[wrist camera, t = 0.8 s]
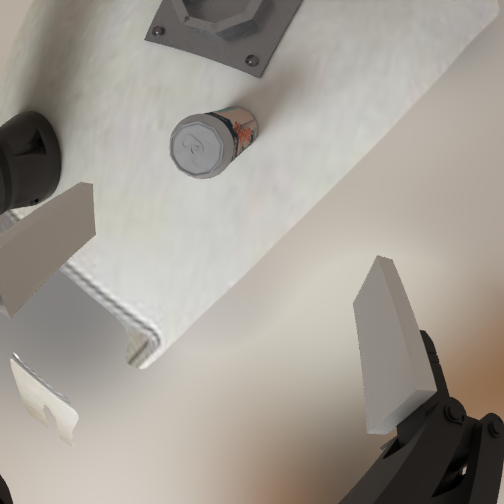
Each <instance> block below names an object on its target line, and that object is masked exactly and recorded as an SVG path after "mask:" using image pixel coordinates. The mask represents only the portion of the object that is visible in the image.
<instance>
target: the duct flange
mask: <svg viewBox="0 0 504 504" xmlns="http://www.w3.org/2000/svg"><path fill="white" fill-rule="evenodd" d="M301 2H302V0H163V1H162V3H161V5H160V7H159V9H158V11H157V13H156V15H155V17H154V19H153V21H152V23H151V26H150V28H149V30H148V32H147V35H146V37H145V39H144V40H146V41H150V42H154V43H158V44H162V45H166V46H170V47H173V48H177V49H180V50H183V51H187V52H190V53H193V54H196V55H199V56H202V57H205V58H208V59H211V60H214V61H217V62H220V63H223V64H225V65H228V66H231V67H233V68H236V69H238V70H241V71H243V72H246V73H248V74H251V75H253V76H256V77H258V78H261V76H262V74H263V72H264V70H265V68H266V66H267V64H268V62H269V60H270V58H271V56H272V54H273V52H274V51H275V49H276V47H277V45H278V43H279V41H280V39H281V38H282V36H283V34H284V32H285V30H286V28H287V27H288V25H289V23H290V21H291V20H292V18H293V16H294V14H295V12H296V11H297V9H298V7H299V6H300V4H301Z"/></svg>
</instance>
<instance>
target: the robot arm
mask: <svg viewBox="0 0 504 504" xmlns="http://www.w3.org/2000/svg"><path fill="white" fill-rule="evenodd" d="M60 167H61V161H60V151H59V146H58V142H57V138H56V135H55V133H54V131H53V129H52V127H51V125H50V124H49V122H48V121H47V120H46V118H45V117H43V116H42V115H41V114H39V113H37V112H33V111H30V112H25V113H22V114H18V115H16V116H14V117H13V118H11V119H10V120H9V121H7V122H6V123H5V124H3V125H2V126H1V127H0V215H1V214H2V213H4V212H6V211H7V210H10V209H16V208H21V207H27V206H33V205H37V204H39V203H41V202H42V201H44V200H46V199H47V198H49V197H50V196H51V195H52V194H53V193H54V191H55V189H56V187H57V184H58V181H59V177H60ZM95 235H96V232H95V219H94V202H93V184H89V183H84V182H80V183H79V184H77V185H75V186H73V187H72V188H70V189H68V190H67V191H65V192H63V193H62V194H60V195H58V196H57V197H55V198H53V199H52V200H50V201H49V202H47V203H46V204H44V205H42V206H41V207H39V208H38V209H36V210H35V211H33V212H32V213H30V214H29V215H27V216H26V217H25V218H23V219H22V220H20V221H19V222H17V223H16V224H15V225H13V226H12V227H10V228H9V229H8V230H6V231H5V232H4V233H2V234H1V235H0V312H2V313H3V314H4V315H6V316H8V317H9V318H12V317H13V316H14V314H15V313H16V312H17V311H18V310H19V309H20V308H21V307H22V306H23V304H24V303H25V302H26V301H27V300H28V299H29V298H30V297H31V296H32V295H33V293H35V292H36V291H37V290H38V288H40V287H41V286H42V284H43V283H45V281H46V280H47V279H48V278H49V277H50V276H51V275H52V274H54V272H56V270H58V269H59V268H60V267H61V266H62V265H63V264H64V263H65V262H66V261H67V260H68V259H69V258H70V257H71V256H72V255H73V254H75V253H76V252H77V251H78V250H79V249H80V248H81V247H82V246H83V245H84V244H86V243H87V242H88V241H89V240H90V239H91V238H92V237H93V236H95ZM353 307H354V313H355V320H356V326H357V334H358V340H359V349H360V356H361V365H362V374H363V385H364V394H365V395H364V396H365V408H366V423H367V434H387V433H389V432H390V431H391V430H393V429H394V428H395V427H396V426H397V434H398V435H397V436H396V437H394V438H393V439H391V440H390V441H389V442H387V443H386V444H384V445H383V446H382V447H381V448H380V449H382V450H383V449H384V448H386V449H385V450H384V451H383V453H382V454H381V455H380V457H379V458H378V459H377V460H376V461H375V463H374V464H373V466H371V468H370V469H369V470H368V471H367V472H366V474H365V475H364V476H363V477H362V478H361V480H360V481H359V482H358V483H357V484H356V485H355V486H354V487H353V488H352V490H351V491H350V492H349V493H348V494H347V495H346V496H345V497H344V498H343V499H342V500H341V501H340V502H339V503H338V504H497V499H498V494H499V489H500V483H501V477H502V470H503V462H504V423H503V421H502V420H501V418H500V417H499V416H498V415H496V414H494V413H489V414H487V415H485V416H484V417H483V418H482V419H480V420H477V419H474V418H471V417H468V416H467V415H466V411H465V409H464V407H463V405H462V404H461V403H460V402H459V401H458V400H456V399H455V398H453V397H450V396H449V393H448V389H447V385H446V382H445V378H444V375H443V372H442V368H441V365H440V364H439V359H438V356H437V355H436V350H435V347H434V344H433V341H432V340H431V338H430V337H429V336H428V334H427V333H426V331H423V330H419V328H418V325H417V322H416V319H415V317H414V313H413V311H412V308H411V305H410V303H409V300H408V297H407V295H406V292H405V289H404V287H403V285H402V282H401V279H400V277H399V275H398V272H397V270H396V267H395V265H394V263H393V260H392V259H388V258H385V257H381V256H377V257H376V259H375V261H374V263H373V265H372V267H371V269H370V271H369V273H368V275H367V277H366V279H365V281H364V283H363V285H362V287H361V289H360V291H359V293H358V295H357V297H356V299H355V300H354V302H353ZM466 466H467V469H466V473H465V474H464V475H462V472H463V468H465V467H466ZM0 504H13V501H12V498H11V494H10V491H9V488H8V486H7V484H6V482H5V481H4V479H3V478H2V477H1V475H0Z"/></svg>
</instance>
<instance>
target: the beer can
mask: <svg viewBox="0 0 504 504" xmlns="http://www.w3.org/2000/svg"><path fill="white" fill-rule="evenodd" d="M257 133H258V125H257V122H256V119H255V118H254V116H253V115H252V114H251V113H250V112H249V111H248V110H246V109H244V108H240V107H229V108H226V109H224V110H219V111H214V112H209V113H205V114H196V115H191V116H188V117H187V118H185V119H183V120H182V121H180V122H179V123H178V125H177V126H176V127H175V129H174V130H173V132H172V134H171V138H170V156H171V158H172V160H173V161H174V163H175V165H176V166H177V168H178V170H180V171H182V172H184V173H185V174H187V175H188V176H191V177H194V178H198V179H206V178H212V177H214V176H217V175H219V174H220V173H221V172H222V171H224V170H225V169H226V167H227V166H228V165H229V164H230V163H231V162H232V161H233V160H234V159H235V158H236V157H237V156H238V155H240V154H241V153H242V152H243V151H244V150H245V149H246V148H248V147H249V146H250V145H251V144H252V143H253V142H254V141H255V139H256V137H257Z"/></svg>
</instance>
